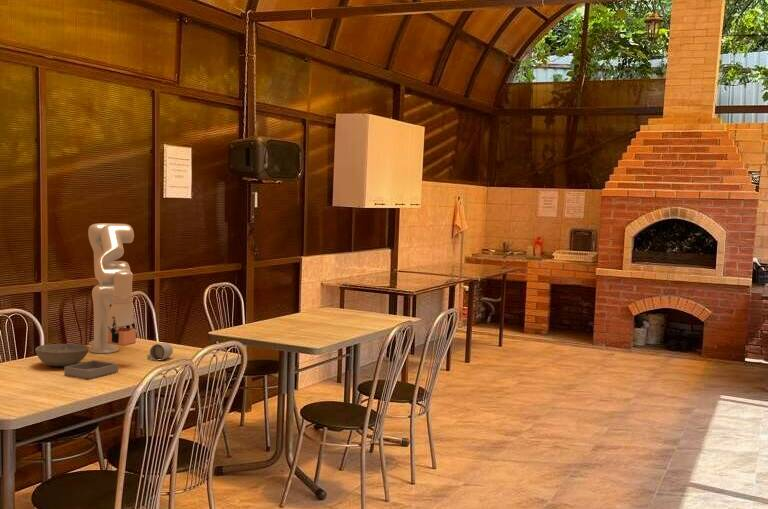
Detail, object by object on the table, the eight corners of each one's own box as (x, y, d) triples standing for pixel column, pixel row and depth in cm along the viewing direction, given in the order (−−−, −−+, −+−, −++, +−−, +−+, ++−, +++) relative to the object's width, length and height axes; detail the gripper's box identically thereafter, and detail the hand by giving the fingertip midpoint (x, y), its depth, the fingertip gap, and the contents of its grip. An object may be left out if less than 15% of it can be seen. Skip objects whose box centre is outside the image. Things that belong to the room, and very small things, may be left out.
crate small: (107, 343, 320) (107, 329, 319) (119, 340, 326) (120, 326, 326) (123, 346, 316) (124, 332, 316) (135, 343, 323) (135, 329, 322)
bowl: (26, 364, 319) (26, 346, 318) (74, 358, 334) (75, 340, 334) (48, 373, 304) (48, 353, 304) (97, 366, 320) (97, 347, 319)
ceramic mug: (173, 358, 341) (173, 341, 341) (164, 361, 333) (164, 344, 333) (152, 356, 343) (152, 340, 343) (143, 360, 335) (143, 343, 335)
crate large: (64, 375, 301) (64, 366, 301) (93, 368, 315) (93, 360, 315) (89, 379, 296) (89, 370, 296) (117, 372, 310) (118, 363, 310)
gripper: (130, 296, 329) (129, 336, 331) (100, 301, 313) (99, 343, 315) (143, 298, 326) (142, 338, 327) (114, 303, 310) (113, 345, 312)
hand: (121, 340), depth 321 cm, fingers closed on crate small, 7 cm apart
